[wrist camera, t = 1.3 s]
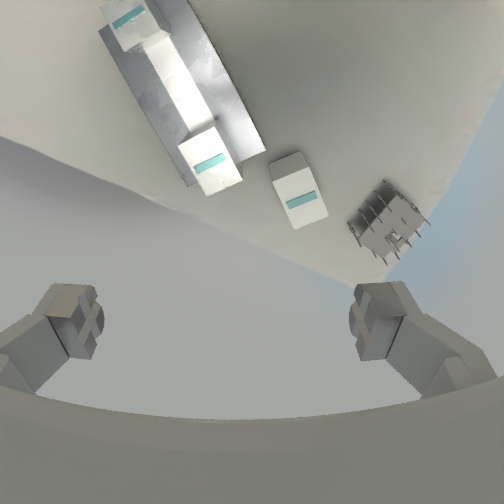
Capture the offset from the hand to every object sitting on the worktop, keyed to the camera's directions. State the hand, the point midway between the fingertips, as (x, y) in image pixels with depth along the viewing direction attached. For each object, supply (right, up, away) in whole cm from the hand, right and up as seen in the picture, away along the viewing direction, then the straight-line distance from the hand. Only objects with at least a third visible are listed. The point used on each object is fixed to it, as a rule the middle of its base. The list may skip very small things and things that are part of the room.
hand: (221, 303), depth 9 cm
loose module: (+6, +10, +28) cm, 30 cm away
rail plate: (-7, +20, +21) cm, 30 cm away
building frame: (+18, +7, +31) cm, 36 cm away
